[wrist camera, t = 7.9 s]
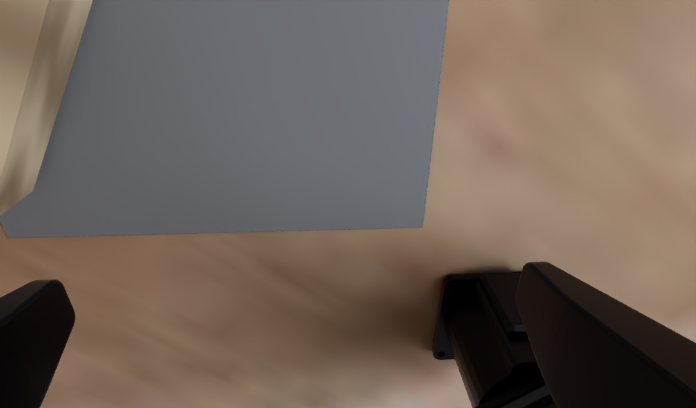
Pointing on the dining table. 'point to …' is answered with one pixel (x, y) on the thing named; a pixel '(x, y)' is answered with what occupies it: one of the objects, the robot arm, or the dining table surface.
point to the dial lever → (33, 84)
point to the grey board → (242, 119)
